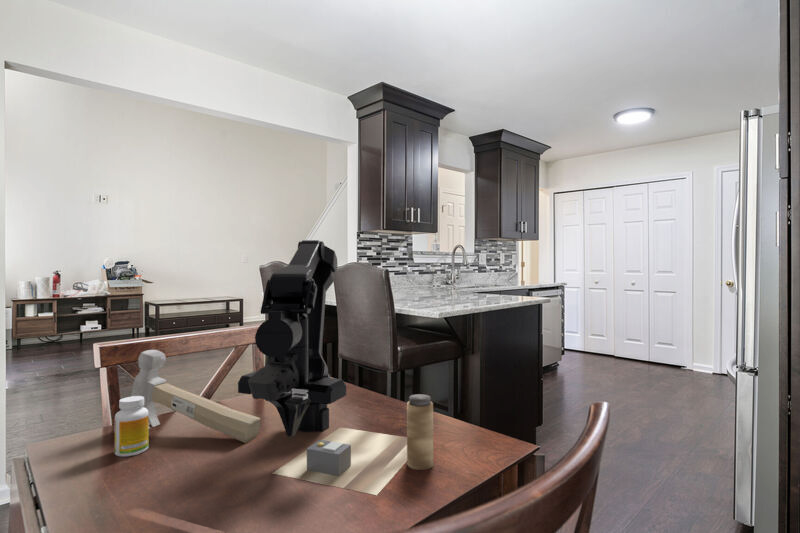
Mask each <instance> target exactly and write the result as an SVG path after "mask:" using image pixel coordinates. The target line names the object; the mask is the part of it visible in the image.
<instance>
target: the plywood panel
mask: <svg viewBox="0 0 800 533" xmlns="http://www.w3.org/2000/svg"><path fill="white" fill-rule="evenodd" d="M322 440H325V441H331V442H338V443H343V444H349V445H351V466H350V467H349V468H348V469H347V470H346V471H345V472H343V473H342V474H341V475H340V476H334V475H329V474H324V473H319V472H314V471H309V470H307V449H306V450H305V451H303V452H302V453H299V455H297V456H296V457H294V458H293V459H292V460H290V461H288V462H287V463H285V464H284V465H282V466H281V467H279V468H278V469H276V470H275V471H273V472H272V475H278V476H282V477H288V478H293V479H296V480H302V481H306V482H311V483H317V484H321V485H326V486H330V487H335V488H338V489H339V488H340V489H344V490H347V491H355V492H359V493H363V494H368V495H372V496H378V495H379V493H380V492H381V491H382V490H383V489H384V488H385V486H387V484H388V483H389V482H390V481H391V480H392V478H394V477H395V475H396V474H398V472H399V471H400V470H401V469H402V467H403V466H404V465H405V464H407V436H401V435H392V434H388V433H387V434H385V433H380V432H374V431H373V432H372V431H366V430H360V429H354V428H347V427H340V426H339V427H338V428H337V429H336V430H334V431H333V432H332V433H330V434H329V435H327V436H326V437H324V438H322Z"/></svg>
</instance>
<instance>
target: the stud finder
mask: <svg viewBox="0 0 800 533" xmlns="http://www.w3.org/2000/svg"><path fill="white" fill-rule="evenodd" d="M306 450H307V470H309V471H314V472H319V473H324V474H329V475H334V476H340V475H341V474H342V473H343V472H345V471H346V470H347V469H348V468H349V467H350V466H351V445H349V444H343V443H338V442H331V441H325V440H323V439H319V440H317V441H316V442H315V443H313V444H312V445H310V446H308V447H307V448H306Z"/></svg>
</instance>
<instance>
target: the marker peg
mask: <svg viewBox="0 0 800 533" xmlns="http://www.w3.org/2000/svg"><path fill="white" fill-rule="evenodd" d="M408 399H409V400H408V401H407V402H406V437H407V462H406V465H407V467H408V468H409V469H412V470H415V471H426V470H429V469H431V468H433V467H434V402H432V401H431V400H432V398H431V396H429V395H427V394H424V393H423V394H421V393H420V394H419V393H417V394H411V395H409V397H408Z"/></svg>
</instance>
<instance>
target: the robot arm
mask: <svg viewBox="0 0 800 533" xmlns="http://www.w3.org/2000/svg"><path fill="white" fill-rule="evenodd" d="M337 272H338V257H337V255H336V251H335V250H334V249H332V248H330V247H328V246H326V245H325V243H324V241H322V240H319V239H317V240H313V239H311V240H310V239H305V240H302V241H298V244H297V249H296V251H295V253H294V255H293V256H292V257H291V260H290V262H289V263H288V265H287V266H284V267H281V268H278V269H276V270H275V271H274V272H273V273H272V274H271V276H270V277H269V278H268V280H266V285H265V290H264V294H263V299H262V302H261V307H260V315H267V320H264V321H263V322H262V323H261V324H260V325H259V326H258V328H257V330H256V332H255V334H254V341H255V344H256V347H257V349H258V350H259V352H260V353H262V354H263V355H265V356H267V363H266V365H264V366H263V367H261V368H259V369H257V370H256V371H252V372H249V373H246V374H243V375H241V377H240V378H239V379H238V382H237V393H238V394H244V395H251V396H252V399H254V400H258V399H260V400H265V401H266V402H269V403H270V404H272V405H273V406H274V407H275V408H276V410H277V412H278V414H279V417H280V419H281V423H282V425H283V428H284V431H285V433H286V436H287V437H290V438H293V437H295V436H296V434H297V431H299V432H302V433H313V432H324V431H326V430H328V429H329V428H330V408H329V407H328V405H331V404H334V403H336V401H338V400H340V399H342V398H344V397H346V396H347V384H346V383H345V381H344V380H343V379H342V378H335V377H331V375H330V373H329V368H328V365H327V364H326V362H325V360H324V357H323V356H322V351H323V339H324V338H323V336H324V324H325V310H326V296H327V294H326V293H327V291H328V290H329V288H330V287H331V286H332V284H333V283H334V281H335V273H337Z"/></svg>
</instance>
